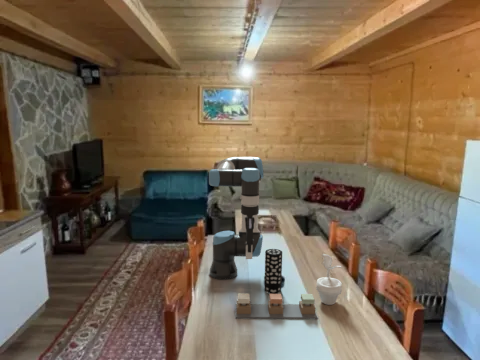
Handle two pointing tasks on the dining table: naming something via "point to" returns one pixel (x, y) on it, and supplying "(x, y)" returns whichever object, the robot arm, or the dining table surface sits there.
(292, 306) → the button board
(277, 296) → the orange cube
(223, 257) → the robot arm
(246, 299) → the button cream
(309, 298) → the button sage
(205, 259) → the dining table surface
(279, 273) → the spotted tube
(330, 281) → the potted plant
